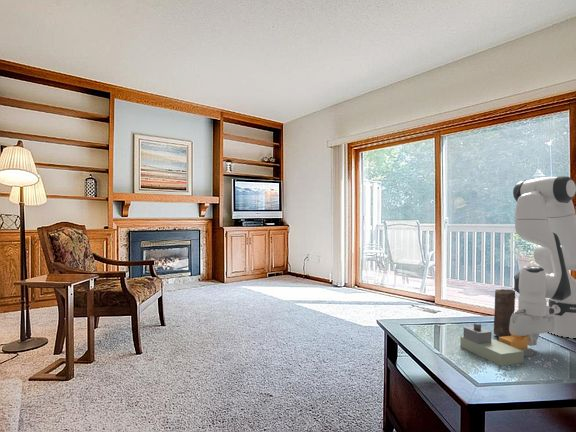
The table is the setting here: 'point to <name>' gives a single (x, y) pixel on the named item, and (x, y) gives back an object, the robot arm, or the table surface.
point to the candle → (503, 311)
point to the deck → (491, 347)
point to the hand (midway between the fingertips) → (531, 345)
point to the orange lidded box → (515, 341)
